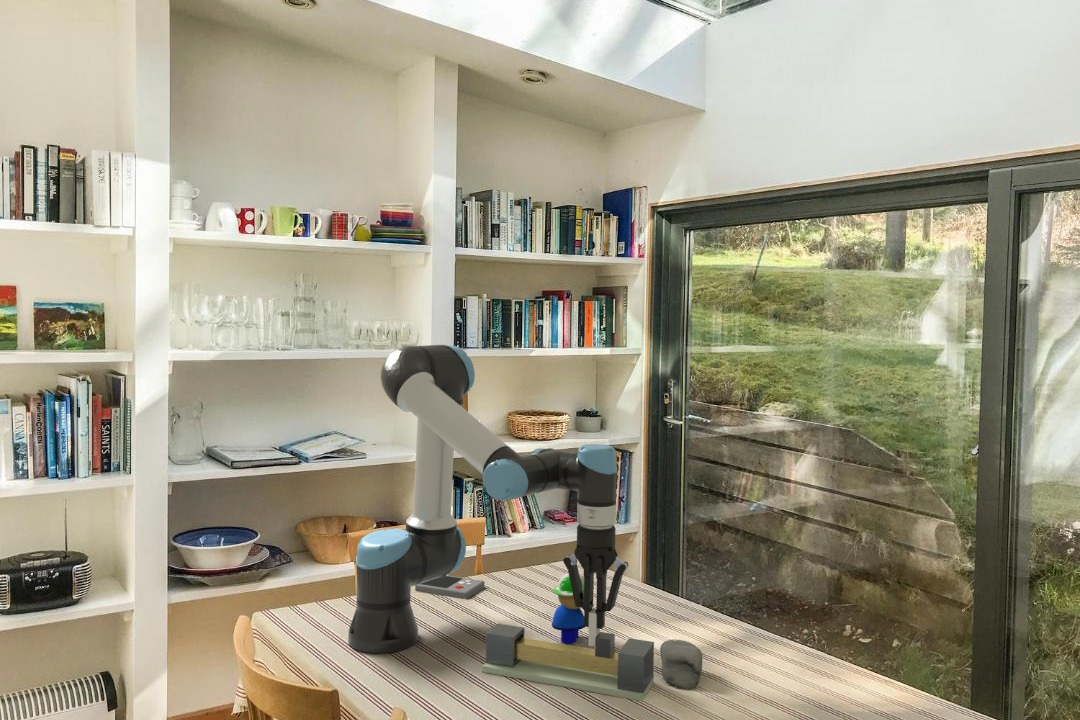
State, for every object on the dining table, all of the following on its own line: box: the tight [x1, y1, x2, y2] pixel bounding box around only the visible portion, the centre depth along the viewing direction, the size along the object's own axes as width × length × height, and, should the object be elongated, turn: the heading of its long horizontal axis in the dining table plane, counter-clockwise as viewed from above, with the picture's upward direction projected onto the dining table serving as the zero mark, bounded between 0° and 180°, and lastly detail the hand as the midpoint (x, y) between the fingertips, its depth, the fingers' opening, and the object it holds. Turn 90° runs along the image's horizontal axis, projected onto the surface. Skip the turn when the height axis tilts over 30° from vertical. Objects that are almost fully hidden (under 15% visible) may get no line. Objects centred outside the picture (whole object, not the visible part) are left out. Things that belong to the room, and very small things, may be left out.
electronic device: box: [414, 574, 485, 600], centre depth 223 cm, size 10×2×15 cm
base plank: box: [481, 660, 655, 702], centre depth 170 cm, size 33×9×1 cm, turn 69°
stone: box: [659, 638, 703, 691], centre depth 171 cm, size 9×9×10 cm
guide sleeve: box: [485, 623, 525, 668], centre depth 174 cm, size 6×6×6 cm
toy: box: [551, 573, 586, 645], centre depth 189 cm, size 9×9×15 cm
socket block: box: [617, 637, 655, 694], centre depth 164 cm, size 5×8×7 cm, turn 159°
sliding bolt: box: [515, 631, 618, 676], centre depth 169 cm, size 28×3×7 cm, turn 69°
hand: (594, 643), depth 167 cm, fingers closed
